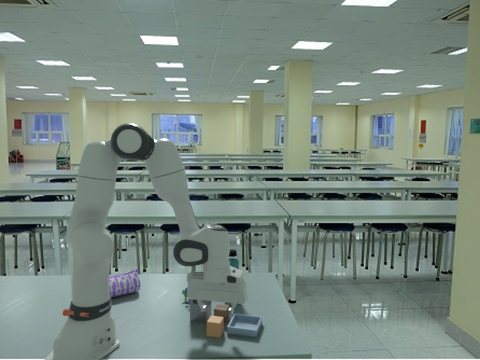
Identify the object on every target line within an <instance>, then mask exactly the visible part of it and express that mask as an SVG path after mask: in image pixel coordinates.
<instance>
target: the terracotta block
mask: <svg viewBox="0 0 480 360" xmlns="http://www.w3.org/2000/svg"><path fill="white" fill-rule="evenodd" d="M224 325H225V324H224V317H219V316H214V315H211V316H210V318H209V319H208V321H207V323H206V337H214V338H221V337H222V334H224V333H223V332H224V328H225V327H224Z"/></svg>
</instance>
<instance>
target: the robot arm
mask: <svg viewBox="0 0 480 360" xmlns="http://www.w3.org/2000/svg"><path fill="white" fill-rule="evenodd" d="M123 160H130V161H142V162H144V164H145V165H146V168H147V171H148V174H149V177H150V181H151V184H152V187H153V189H154V191H155V193H156V195H157V197H158V198H159V199H161V200H162V201H165V202H166V203H168V204H169V205H170V206H171V208H172V210H173V212H174V215H175V216H174V217H175V219H176V221H177V224H178V227H179V237H178V240H176V243H175V244H174V246H173V249H172V250H173V251H172V252H173V253H172V254H173V257H174V260H175V261H176V262H177V264H179V265H180V266H183V267H195V266H200V265H202V271H194V270H193V271H192V270H191V271H190V272H188V273H187V274H186V282H187V287H186V288H187V298H188V299H189V300H190V299H195V300H197V303H198V304H199V306H200V307H201V312H206V310H207V308H206V307H207V306H206V305H204V304H203V302H202V301H203V300H206V301H211V302H216V303H217V302H218V303H219V302H220V303H227V304H228V303H229V304H231V306H232V307H229V309H228V312H229V313H228V315H229V316H233V315H234V311H235V310H234V309H235V308H236V306H237V305H238V304H240V305H244V304H245V303H247V301H248V287H247V281H246V280H245V279H244V276H245V272H244V271H243V270H241V269H240V268H239V269H237V268H234V267H232V266H230V262H229V253H230V249H231V248H230V245H231V244H230V236H229V232H228V230H227V229H226V227H224V226H222V225H221V224H216V223H209V224H206V225H204V226H203V227H201V226H200V225H199V224H198V221H197V218H196V216H195V213H194V209H193V205H192V203H191V199H190V194H189V186H188V179H187V172H186V169H185V166H184V164H183V161H182V157H181V156H180V152H179V150H178V149H177V147H176V145H175V142H174V141H173V140H171V139H170V138H169V139H168V138H156V139H154V138H153V137H152V136H151V135H150V134H149V133H148V132H147V131H146V130H145V129H144V128H143V127H142V126H140V125H139V124H136V123H132V122H128V123H127V122H126V123H123V124H120V125H119V126H117V127H116V128H115V129H114V130H113V131H112V133H111V135H110V138H109V140H105V141H104V140H95V141H91V142H89V143H87V144H86V146H85V147H84V150H83V152H82V156H81V158H80V163H79V166H78V172H77V179H76V180H77V181H76V187H75V188H76V189H75V195H74V202H73V206H72V209H71V213H70V216H69V221H68V224H67V229H66V233H65V235H66V236H65V238H66V243H67V244H68V246H69V247H70V249H71V251H72V255H73V263H72V264H73V265H72V272H71V276H70V282H71V283H70V284H71V301H70V305H69V309H68V308H64V309H63V311H62V316H64V317H67V319H66V320H65V322H64V324H63V325H62V327H61V329H60V330H59V332H58V333H57V335H56V337H55V338H54V340H53V341H54V342H53V346H52V347H53V348H52V350H51V351H50V353H48V355H47V356H46V357H45V358H44V360H102V359H103V358H105V356H107V355H108V354H110V353H111V352H113V351H114V350H116V349H117V348H119V347H120V345H121V342H120V340H119V339H118V338H117V337H118V336H117V331H116V330H117V329H116V323H115V317H113V314H112V311H111V309H112V298H111V297H110V295H109V277H110V269H111V264H112V263H111V262H112V257H113V254H114V252H115V251H114V250H115V244H114V243H115V242H114V239H113V236H112V234H111V233H110V231H108V230H107V229H106V222H107V219H108V215H109V213H110V210H111V208H112V206H113V204H114V197H115V189H116V184H117V183H116V181H117V175H118V174H117V173H118V168H119V165H120V163H121V162H122V161H123Z"/></svg>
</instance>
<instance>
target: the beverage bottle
mask: <svg viewBox="0 0 480 360" xmlns="http://www.w3.org/2000/svg"><path fill="white" fill-rule="evenodd" d="M237 256H238V252H237V250H236V249H234V248H233V249H232V248H230V253H229V262H230V266H232V267H234V268H237V269H239V270H240V260H239V258H237Z"/></svg>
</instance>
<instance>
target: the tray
mask: <svg viewBox="0 0 480 360" xmlns="http://www.w3.org/2000/svg"><path fill="white" fill-rule="evenodd" d="M262 325H263V316H259V315H250V314H243V313H233V315H232V316H231V319H230V321H229V323H228V324H227V326H226V334H227V335H229V336H230V335H231V336H239V337H246V338H252V339H257V337H258V335H259V332H260V331H261V327H262Z"/></svg>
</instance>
